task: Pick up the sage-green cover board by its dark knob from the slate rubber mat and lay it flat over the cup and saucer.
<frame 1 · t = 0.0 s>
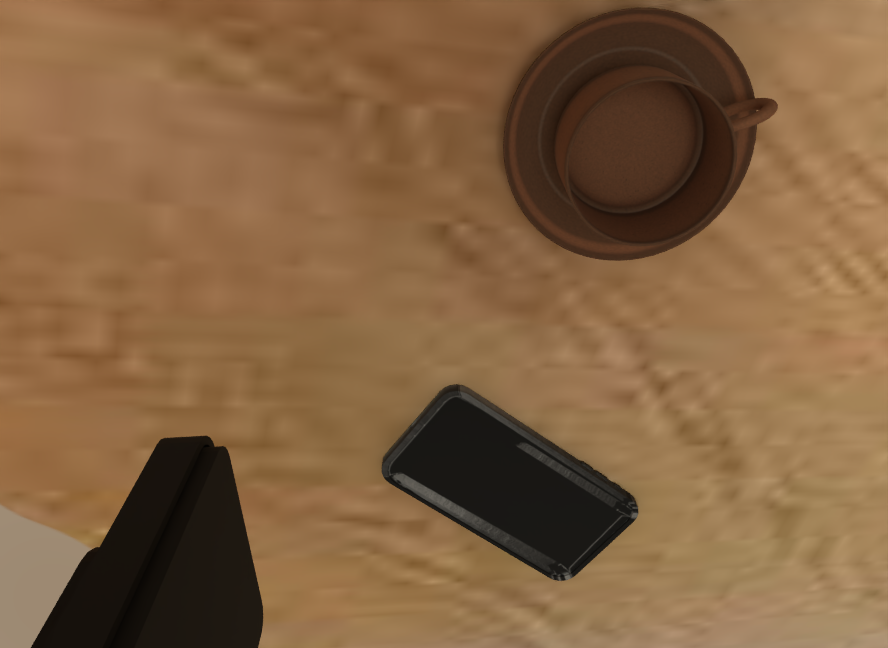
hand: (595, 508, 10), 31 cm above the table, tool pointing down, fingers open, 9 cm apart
cup and saucer: (620, 133, 39), on the table
phone: (510, 478, 49), on the table
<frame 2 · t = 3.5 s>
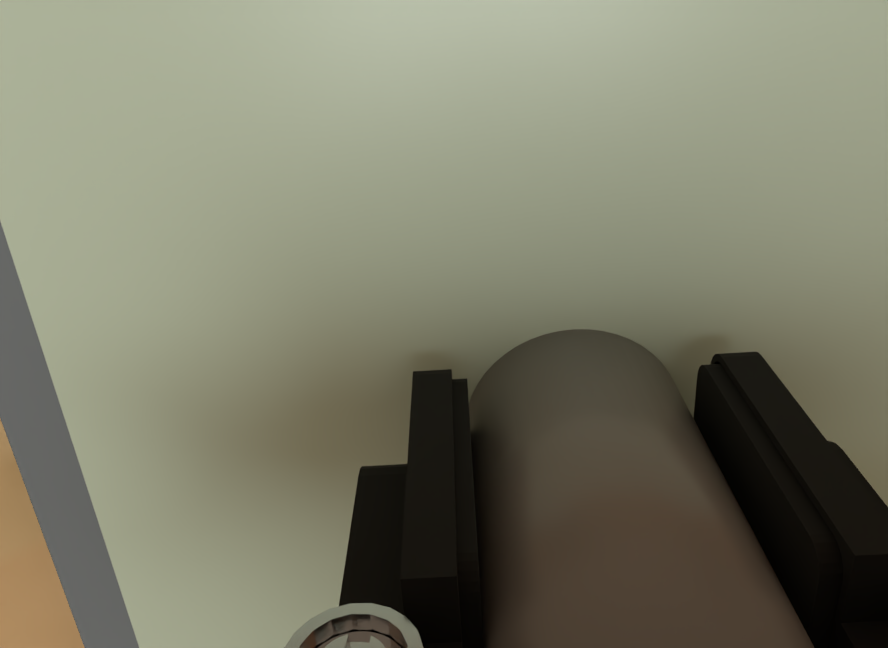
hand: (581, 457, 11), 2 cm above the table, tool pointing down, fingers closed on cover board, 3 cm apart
rubber mat: (559, 378, 13), on the table
cover board: (565, 397, 12), point 1 cm above the table, touching gripper, rubber mat
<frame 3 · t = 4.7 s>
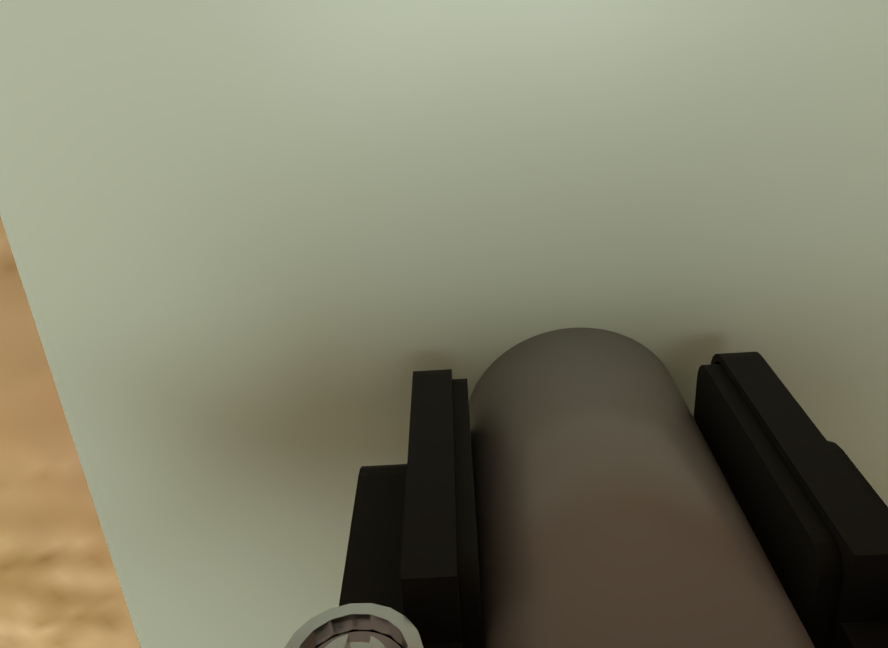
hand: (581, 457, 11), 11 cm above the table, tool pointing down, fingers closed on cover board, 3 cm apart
cover board: (564, 395, 12), point 9 cm above the table, touching gripper
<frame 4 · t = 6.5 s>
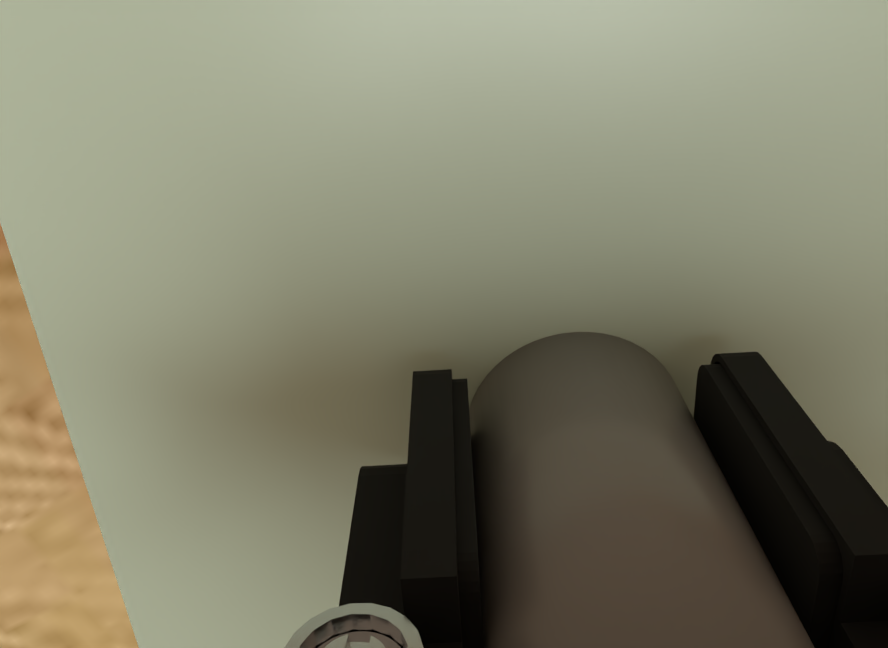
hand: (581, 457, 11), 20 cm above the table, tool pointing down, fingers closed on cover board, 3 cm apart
cover board: (566, 399, 12), point 18 cm above the table, touching gripper
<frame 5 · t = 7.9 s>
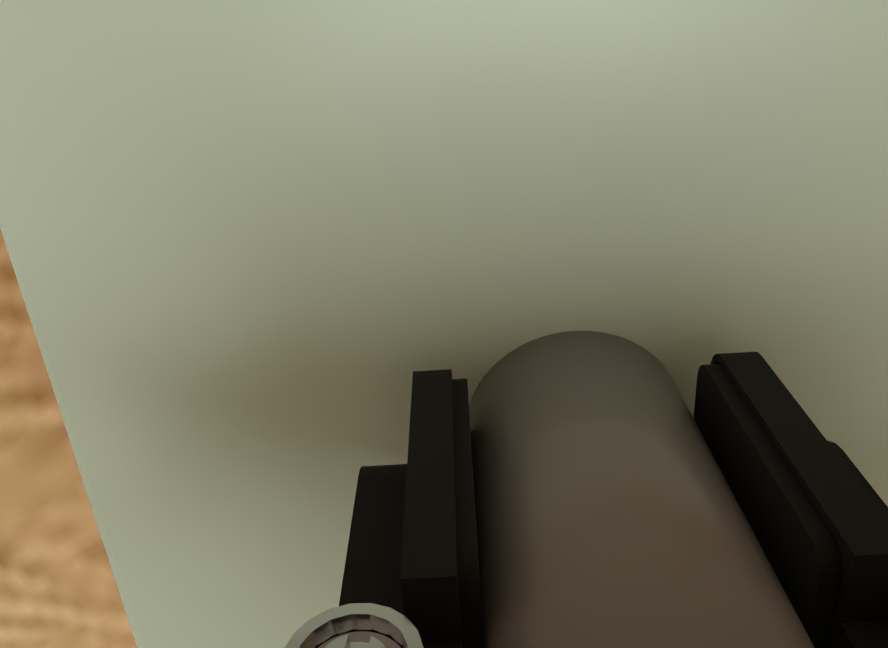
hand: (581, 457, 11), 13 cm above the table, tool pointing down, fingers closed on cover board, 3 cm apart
cover board: (565, 398, 12), point 12 cm above the table, touching gripper
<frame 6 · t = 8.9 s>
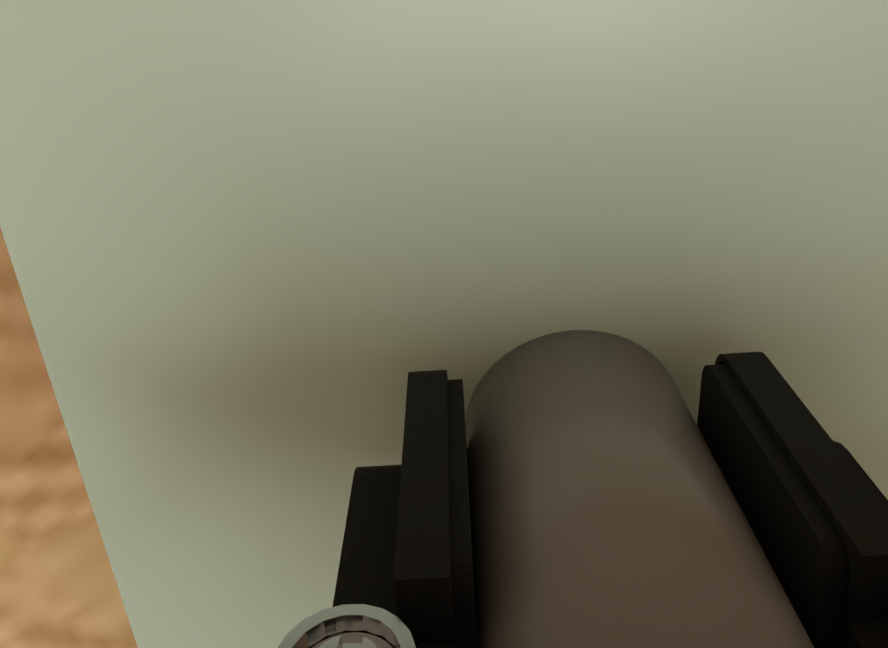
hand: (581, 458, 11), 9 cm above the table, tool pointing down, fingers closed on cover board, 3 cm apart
cover board: (565, 397, 12), point 8 cm above the table, touching gripper
when the fingers open (9 cm above the table, at t = 8.9 s): cover board drops 2 cm, resting on cup and saucer.
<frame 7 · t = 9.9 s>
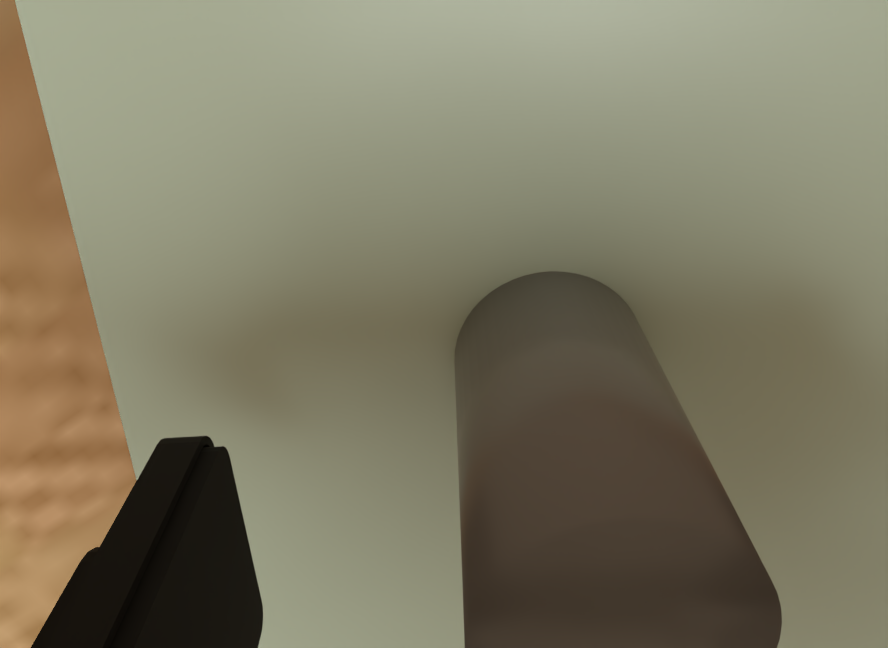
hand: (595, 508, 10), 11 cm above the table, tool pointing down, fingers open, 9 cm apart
cover board: (542, 337, 14), point 6 cm above the table, touching cup and saucer
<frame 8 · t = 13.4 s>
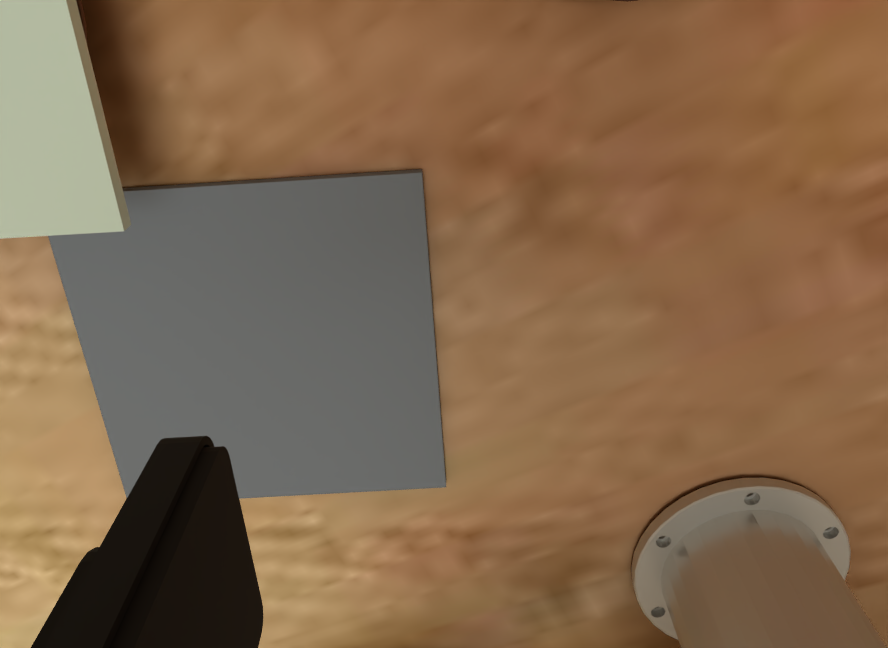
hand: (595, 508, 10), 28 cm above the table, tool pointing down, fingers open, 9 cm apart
rubber mat: (262, 350, 41), on the table
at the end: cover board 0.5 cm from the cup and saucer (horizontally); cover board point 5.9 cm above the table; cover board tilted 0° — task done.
